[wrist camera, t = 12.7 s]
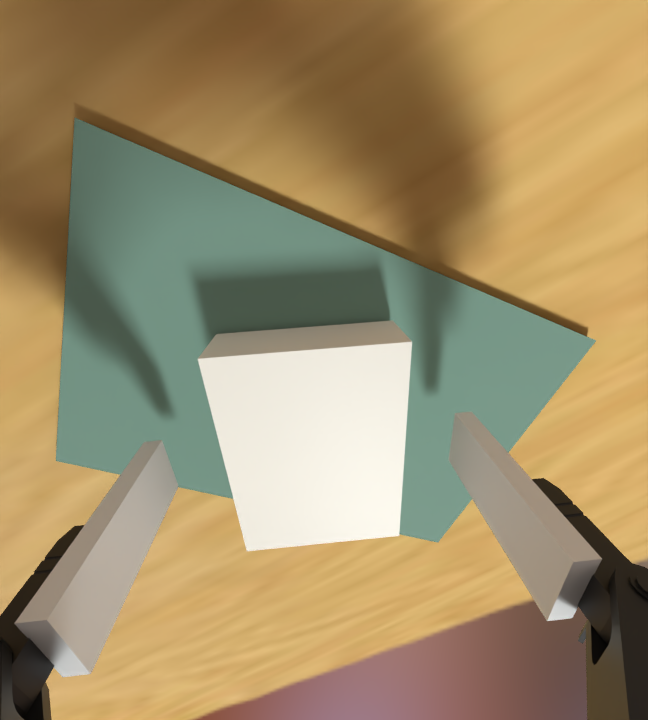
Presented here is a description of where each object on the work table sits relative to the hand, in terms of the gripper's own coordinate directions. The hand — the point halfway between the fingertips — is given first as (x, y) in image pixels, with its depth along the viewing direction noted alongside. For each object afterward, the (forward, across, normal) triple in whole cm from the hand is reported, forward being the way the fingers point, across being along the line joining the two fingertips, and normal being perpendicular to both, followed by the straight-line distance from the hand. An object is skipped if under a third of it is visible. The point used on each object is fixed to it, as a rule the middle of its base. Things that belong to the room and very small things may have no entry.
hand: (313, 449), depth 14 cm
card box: (+1, 0, -6) cm, 6 cm away
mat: (+3, 0, +1) cm, 3 cm away
